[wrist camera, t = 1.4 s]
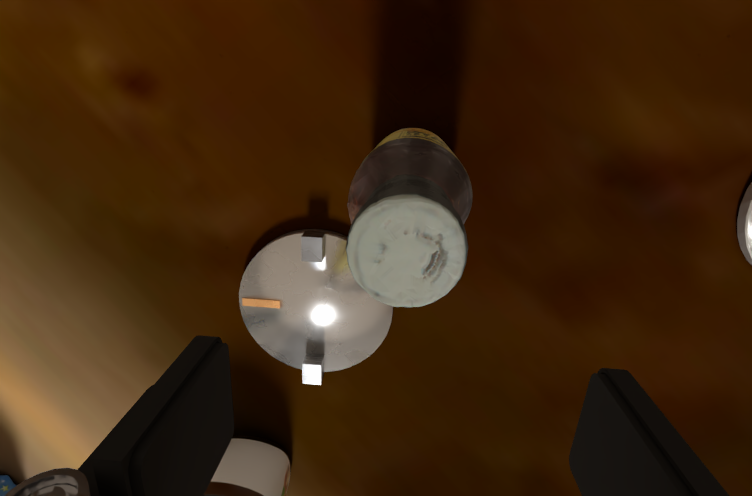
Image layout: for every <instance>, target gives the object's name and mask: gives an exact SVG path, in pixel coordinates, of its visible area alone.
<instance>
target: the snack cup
mask: <svg viewBox="0 0 752 496" xmlns="http://www.w3.org/2000/svg"><path fill="white" fill-rule="evenodd" d="M16 486H17V485H15V484H14V483H13V481H12V480H11V479H10V477H9V476H8V475H0V496H5V495H6V494H7V493H8V492H9V491H10V490H11V489H12V488H14V487H16Z"/></svg>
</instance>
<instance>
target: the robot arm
mask: <svg viewBox="0 0 752 496" xmlns="http://www.w3.org/2000/svg"><path fill="white" fill-rule="evenodd" d="M737 236H738V240H739V244H740V248H741V250H742V252H743V254H744V256H745V257H746V259H747V261H748V262H749V263H750V264H751V265H752V182H751V183H750V185H749V187H748V188H747V190H746V193H745V195H744V197H743V200H742V202H741V205H740V209H739V214H738V219H737ZM233 432H234V414H233V401H232V389H231V376H230V363H229V350H228V345H227V344H226V343H222V340H221V338H219V337H211V336H196V337H195V338H194V339H193V340H192V341H191V342H190V344H189V345H188V346H187V347H186V348H185V349H184V351H183V352H182V353H181V354H180V355H179V356H178V358H177V359H176V360H175V361H174V362H173V363H172V365H171V366H170V367H169V368H168V369H167V370H166V372H165V373H164V374H163V375H162V376H161V377H160V379H159V380H158V381H157V382H156V383H155V384H154V385H152V386H151V387H150V388H149V389H147V390H146V392H145V393H144V394H143V395H142V396H141V397H140V398H139V400H138V401H137V402H136V403H135V404H134V405H133V407H132V408H131V409H130V410H129V411H128V412H127V413H126V415H125V416H124V417H123V418H122V419H121V420H120V422H119V423H118V424H117V425H116V426H115V427H114V428H113V430H112V431H111V432H110V433H109V434H108V435H107V437H106V438H105V439H104V440H103V441H102V442H101V443H100V445H99V446H98V447H97V448H96V449H95V450H94V452H93V453H92V454H91V455H90V456H89V457H88V458H87V460H86V461H85V462H84V463H83V464H82V465H81V467H80V468H79V469H78V470H76V469H71V468H60V469H53V470H49V471H46V472H42V473H39V474H37V475H35V476H33V477H31V478H29V479H26V480H25V481H23V482H22V483H20V484H19V485H17V486H16V487H14V488H12V489H11V490H10V491H9V492H8V493H7V494H6V495H5V496H204V494H205V492H206V490H207V488H208V486H209V484H210V482H211V480H212V478H213V476H214V474H215V472H216V470H217V468H218V466H219V464H220V462H221V460H222V458H223V456H224V454H225V452H226V450H227V447H228V445H229V443H230V441H231V439H232V436H233ZM569 463H570V468H571V471H572V474H573V476H574V478H575V480H576V483H577V485H578V487H579V489H580V492H581V494H582V496H729V495H728V494H727V492H726V491H725V490H724V489H723V487H722V486H721V485H720V484H719V482H718V481H717V480H716V479H715V478H714V476H713V475H712V474H711V473H710V471H709V470H708V469H707V468H706V466H705V465H704V464H703V463H702V461H701V460H700V459H699V458H698V457H697V455H696V454H695V453H694V452H693V450H692V449H691V448H690V447H689V445H688V444H687V443H686V442H685V440H684V439H683V438H682V437H681V435H680V434H679V433H678V432H677V431H676V429H675V428H674V427H673V426H672V424H671V423H670V422H669V421H668V419H667V418H666V417H665V416H664V414H663V413H662V412H661V411H660V410H659V408H658V407H657V406H656V405H655V403H654V402H653V401H652V400H651V398H650V397H649V396H648V395H647V393H646V392H645V391H644V390H643V388H642V387H641V386H640V385H639V384H638V382H637V381H636V380H635V379H634V377H633V376H632V375H631V374H630V373H629V372H628V371H627V370H620V369H608V368H602V369H600V370H599V371H598V373H594V374H593V375H592V376H591V378H590V382H589V385H588V389H587V393H586V396H585V400H584V404H583V407H582V411H581V415H580V418H579V422H578V426H577V429H576V433H575V437H574V440H573V444H572V448H571V451H570V456H569Z"/></svg>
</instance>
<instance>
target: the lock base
mask: <svg viewBox="0 0 752 496" xmlns="http://www.w3.org/2000/svg"><path fill="white" fill-rule="evenodd" d="M347 238H348V236H345V235H343V234H340V233H337V232H333V231H329V230H322V229H303V230H297V231H293V232H289V233H286V234H284V235H281V236H279V237H277V238H276V239H274V240H272V241H271V242H269V243H268V244H267V245H266V246H264V247H263V248H262V249H261V250H260V251H259V252H258V254H257V255H256V256H255V257H254V258H253V259H252V261H251V262H250V263H249V265H248V266H247V268H246V270H245V272H244V274H243V277H242V281H241V285H240V291H239V303H240V310H241V314H242V317H243V320H244V322H245V325H246V327H247V329H248V330H249V332H250V334H251V335H252V337H253V338H254V339H255V341H256V342H257V343H258V344H259V345H260V346H261V347H262V348H263V349H264V350H265V351H266V352H267V353H269V354H270V355H271V356H273V357H274V358H276V359H277V360H279V361H281V362H283V363H285V364H287V365H290V366H292V367H295V368H298V369H302V377H303V384H315V385H321V383H322V380H323V376H324V372H329V371H337V370H342V369H345V368H348V367H351V366H353V365H356V364H358V363H360V362H361V361H363V360H364V359H366V358H368V357H369V356H370V355H371V354H372V353H373V352H374V351H375V350H376V349H377V348H378V347H379V346H380V345H381V343H382V342H383V340H384V339H385V337H386V335H387V332H388V330H389V327H390V324H391V320H392V313H393V306H390V305H387V304H384V303H381V302H379V301H377V300H375V299H374V298H373V297H371V296H370V295H369V294H368V293H367V292H366V291H365V290H364V289H363V288H361V287H360V286H359V284H358V283H357V282H356V281H355V279H354V277H353V276H352V273H351V271H350V269H349V265H348V262H347V253H346V242H347Z"/></svg>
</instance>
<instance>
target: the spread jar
mask: <svg viewBox="0 0 752 496" xmlns="http://www.w3.org/2000/svg"><path fill="white" fill-rule="evenodd" d="M290 472H291V463H290V458H289V456H288V454H287V452H286V451H285V450H284V449H283V448H282V447H281V446H279V445H278V444H276V443H274V442H272V441H270V440H267V439H264V438H261V437H255V436H235V437H232V439H231V441H230V443H229V445H228V447H227V450H226V452H225V454H224V456H223V458H222V460H221V462H220V464H219V466H218V468H217V470H216V472H215V474H214V476H213V478H212V480H211V482H210V484H209V486H208V488H207V490H206V492H205V494H204V496H285V495H286V492H287V488H288V484H289V479H290Z"/></svg>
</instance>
